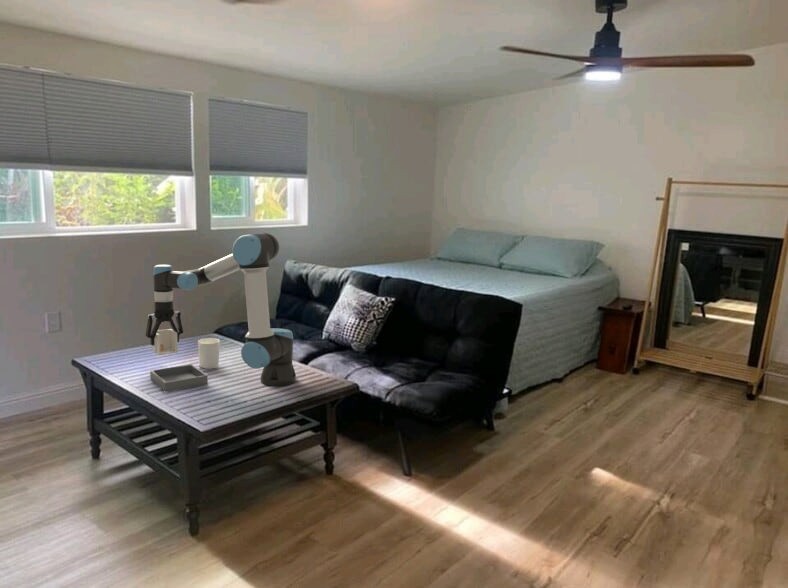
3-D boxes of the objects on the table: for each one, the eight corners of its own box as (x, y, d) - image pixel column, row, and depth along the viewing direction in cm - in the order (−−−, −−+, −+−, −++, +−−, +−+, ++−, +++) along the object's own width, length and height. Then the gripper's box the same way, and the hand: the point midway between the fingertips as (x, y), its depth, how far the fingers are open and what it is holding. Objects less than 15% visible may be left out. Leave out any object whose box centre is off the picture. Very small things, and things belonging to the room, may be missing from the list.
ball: (166, 345, 247) (161, 346, 244) (163, 351, 247) (158, 352, 245) (161, 342, 248) (156, 342, 245) (158, 348, 248) (153, 348, 246)
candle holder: (193, 367, 256) (193, 342, 253) (205, 361, 265) (205, 336, 263) (212, 370, 253) (212, 344, 251) (224, 364, 263) (224, 339, 261)
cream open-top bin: (177, 352, 247) (177, 332, 245) (159, 355, 242) (158, 335, 240) (171, 348, 253) (170, 328, 251) (152, 350, 248) (152, 331, 246)
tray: (207, 384, 236) (207, 375, 235) (165, 392, 224) (164, 382, 224) (191, 372, 249) (191, 364, 248) (150, 379, 237) (150, 370, 237)
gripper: (184, 296, 253) (185, 345, 257) (135, 301, 239) (137, 352, 243) (190, 299, 247) (191, 349, 251) (141, 304, 234) (143, 356, 238)
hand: (165, 350), depth 247 cm, fingers closed on cream open-top bin, 8 cm apart
